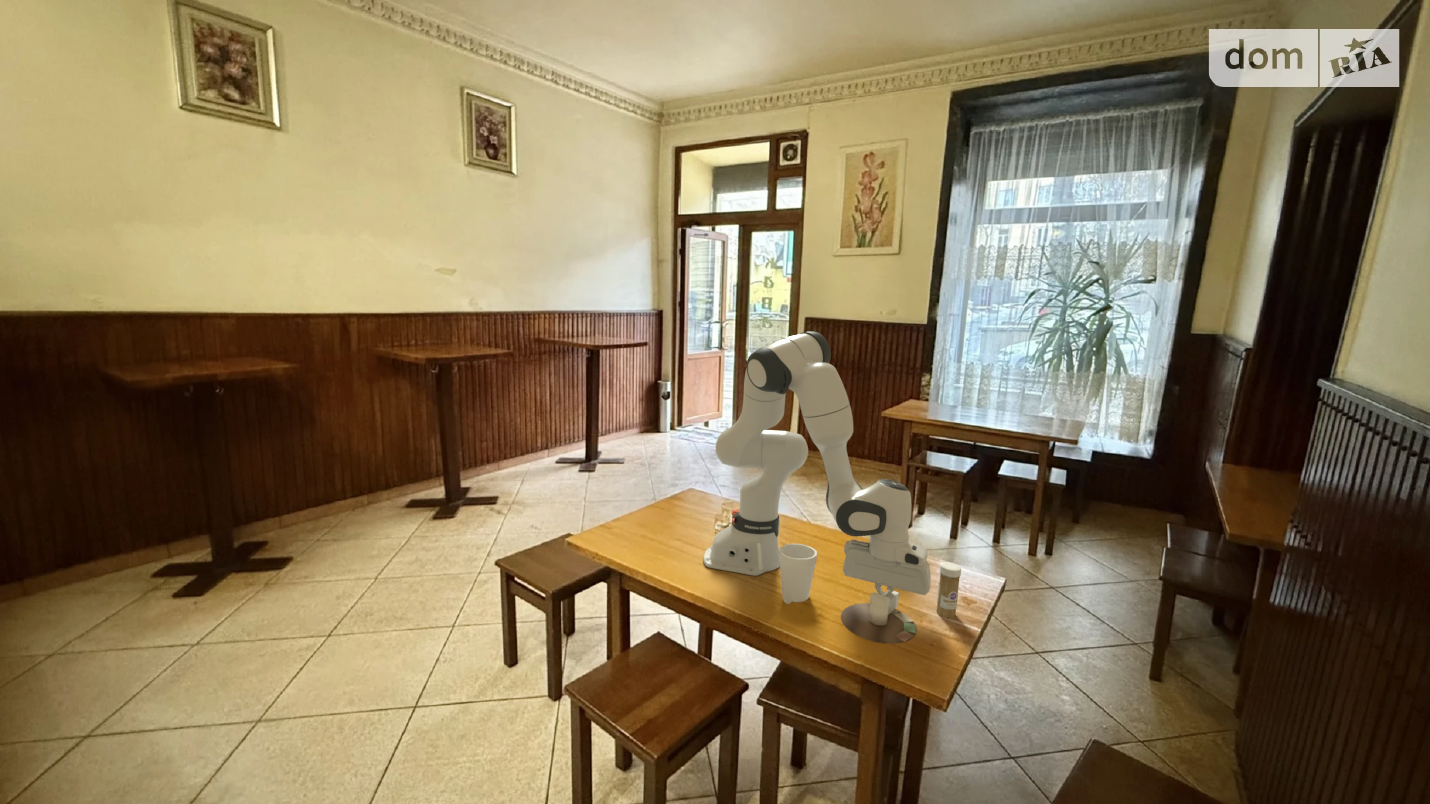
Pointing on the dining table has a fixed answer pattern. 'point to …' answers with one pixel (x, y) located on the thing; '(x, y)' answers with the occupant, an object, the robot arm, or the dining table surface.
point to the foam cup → (796, 571)
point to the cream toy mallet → (882, 607)
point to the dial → (891, 633)
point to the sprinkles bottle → (948, 590)
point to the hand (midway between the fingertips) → (883, 600)
